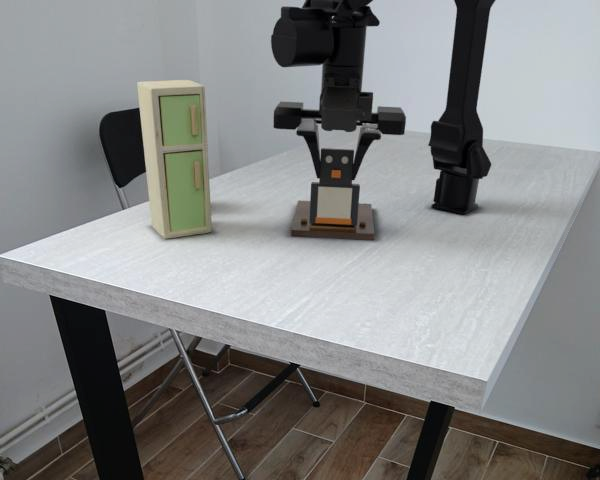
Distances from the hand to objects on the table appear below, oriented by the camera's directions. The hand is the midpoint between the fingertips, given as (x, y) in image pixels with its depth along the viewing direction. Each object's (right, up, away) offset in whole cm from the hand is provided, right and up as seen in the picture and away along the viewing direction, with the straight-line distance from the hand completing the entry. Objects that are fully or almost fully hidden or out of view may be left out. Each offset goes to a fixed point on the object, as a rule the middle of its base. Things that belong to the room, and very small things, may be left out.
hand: (335, 178), depth 98 cm
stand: (0, -4, +10) cm, 10 cm away
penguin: (0, 0, +3) cm, 3 cm away
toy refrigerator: (-24, -7, +4) cm, 25 cm away
